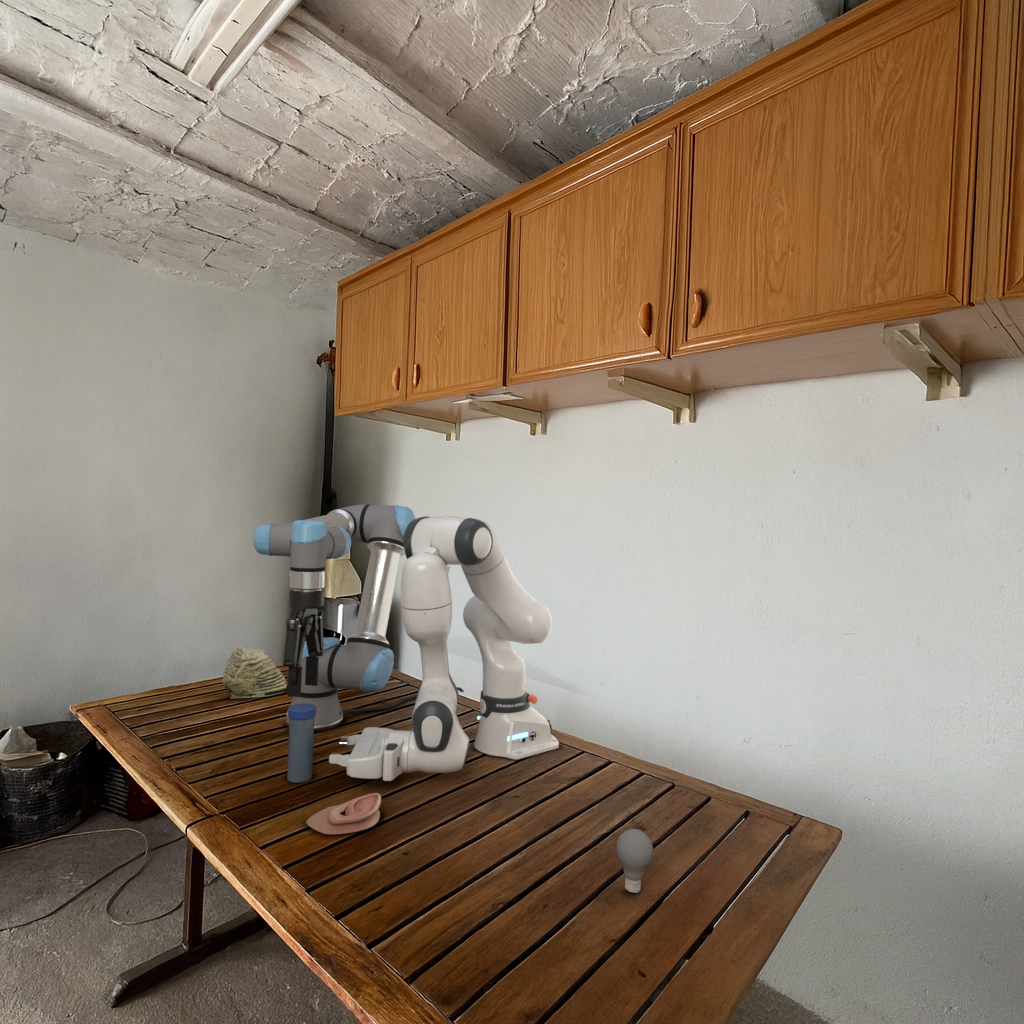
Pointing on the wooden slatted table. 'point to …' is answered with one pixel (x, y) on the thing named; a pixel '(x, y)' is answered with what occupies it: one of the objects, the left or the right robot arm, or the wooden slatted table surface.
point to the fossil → (252, 674)
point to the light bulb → (634, 857)
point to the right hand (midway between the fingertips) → (335, 749)
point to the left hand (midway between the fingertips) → (303, 690)
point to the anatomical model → (347, 816)
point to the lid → (302, 711)
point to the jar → (300, 750)
